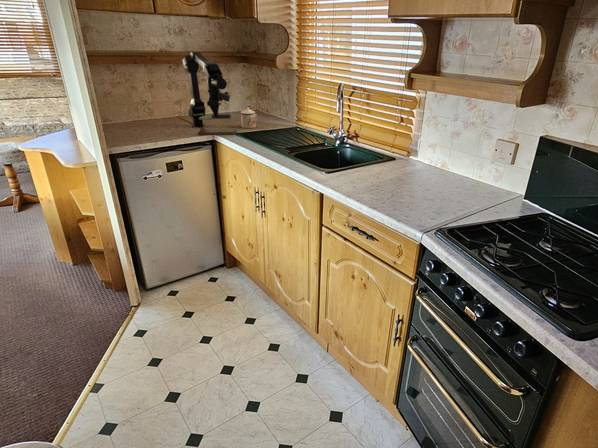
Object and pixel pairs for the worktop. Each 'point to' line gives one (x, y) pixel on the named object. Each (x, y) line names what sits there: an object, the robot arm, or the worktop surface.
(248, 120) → the teacup with lid
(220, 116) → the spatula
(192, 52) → the robot arm
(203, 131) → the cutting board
